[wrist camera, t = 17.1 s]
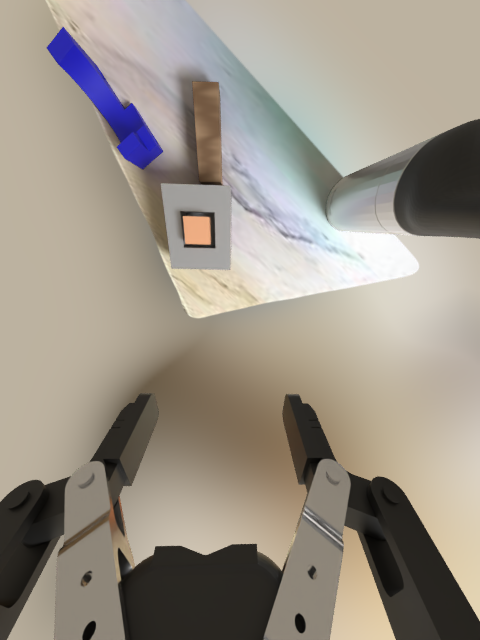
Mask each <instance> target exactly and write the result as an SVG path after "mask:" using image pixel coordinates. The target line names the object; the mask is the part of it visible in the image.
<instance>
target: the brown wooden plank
mask: <svg viewBox="0 0 480 640" xmlns="http://www.w3.org/2000/svg"><path fill="white" fill-rule="evenodd" d="M192 86H193V100H194V114H195V129H196V143H197V158H198V172H199V182H200V183H201V184H202V185H221V186H222V151H221V111H220V91H219V83H218V82H194V81H192Z"/></svg>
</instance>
